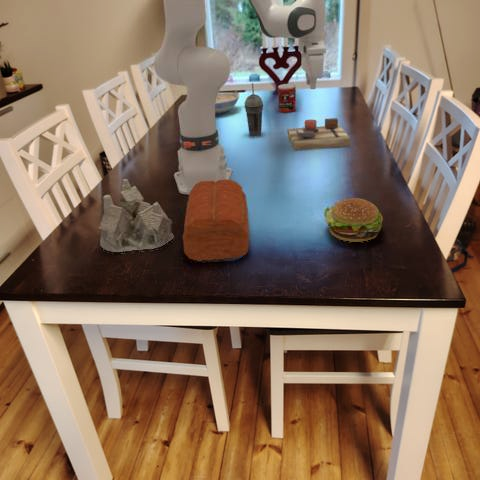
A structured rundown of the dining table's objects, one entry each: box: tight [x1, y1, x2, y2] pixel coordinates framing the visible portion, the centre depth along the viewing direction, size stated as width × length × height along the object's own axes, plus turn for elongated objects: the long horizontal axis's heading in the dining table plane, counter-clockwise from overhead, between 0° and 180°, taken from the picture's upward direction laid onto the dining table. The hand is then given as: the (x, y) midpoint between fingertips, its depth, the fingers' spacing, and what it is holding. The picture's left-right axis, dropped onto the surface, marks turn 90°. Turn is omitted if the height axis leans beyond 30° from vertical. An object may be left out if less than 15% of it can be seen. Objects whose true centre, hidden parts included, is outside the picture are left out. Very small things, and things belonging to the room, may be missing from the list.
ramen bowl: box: [215, 89, 246, 115], centre depth 214 cm, size 25×23×8 cm
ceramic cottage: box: [98, 178, 175, 252], centre depth 113 cm, size 16×16×15 cm
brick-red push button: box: [304, 119, 318, 129], centre depth 172 cm, size 4×4×2 cm
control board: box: [286, 124, 351, 152], centre depth 171 cm, size 16×20×4 cm
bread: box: [182, 179, 250, 261], centre depth 114 cm, size 16×27×11 cm, turn 1°
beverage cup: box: [244, 82, 264, 138], centre depth 178 cm, size 7×7×20 cm
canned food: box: [277, 83, 297, 114], centre depth 207 cm, size 8×8×11 cm
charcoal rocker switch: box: [296, 130, 315, 137], centre depth 166 cm, size 4×6×1 cm, turn 93°
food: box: [323, 197, 383, 243], centre depth 112 cm, size 14×14×8 cm
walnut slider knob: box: [324, 117, 339, 128], centre depth 173 cm, size 2×4×3 cm, turn 93°
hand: (310, 86), depth 165 cm, fingers open, 5 cm apart
